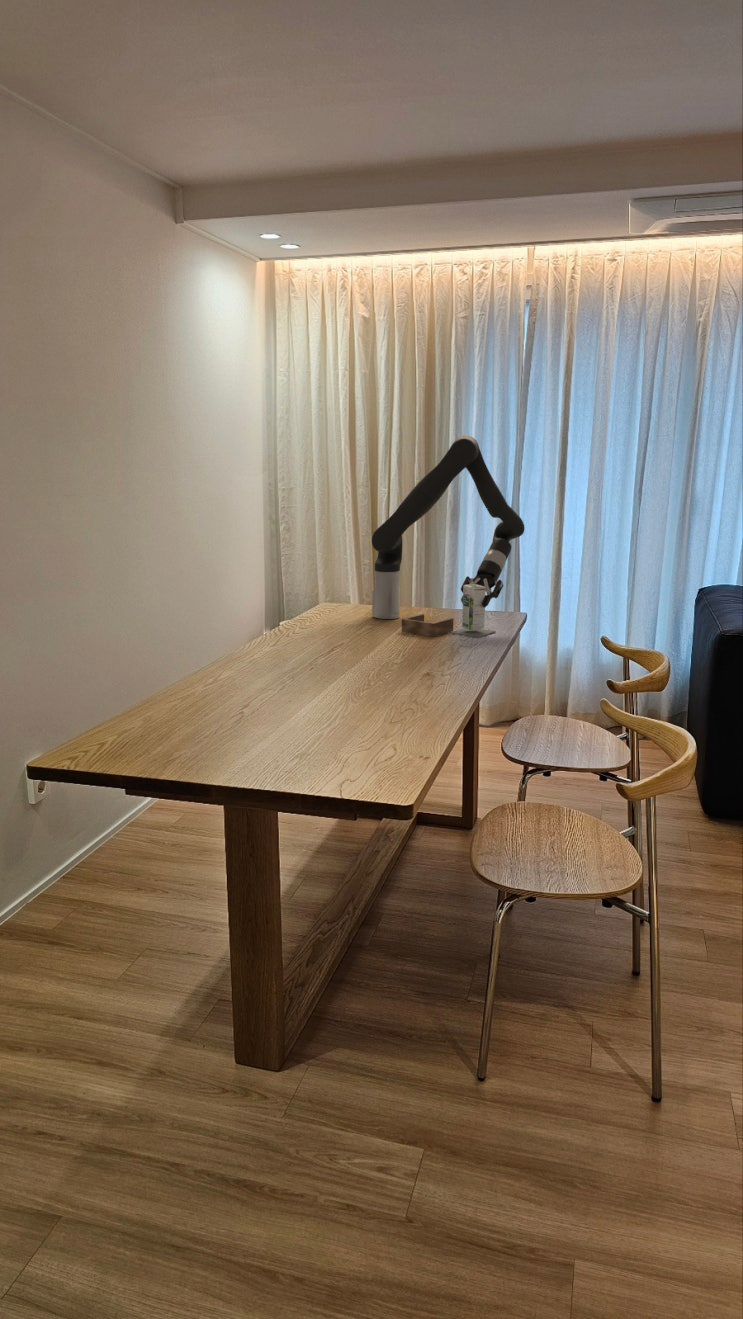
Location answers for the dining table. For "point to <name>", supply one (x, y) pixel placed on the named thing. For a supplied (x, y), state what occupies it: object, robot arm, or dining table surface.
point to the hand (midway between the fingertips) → (473, 604)
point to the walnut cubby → (426, 626)
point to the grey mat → (473, 632)
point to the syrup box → (473, 607)
